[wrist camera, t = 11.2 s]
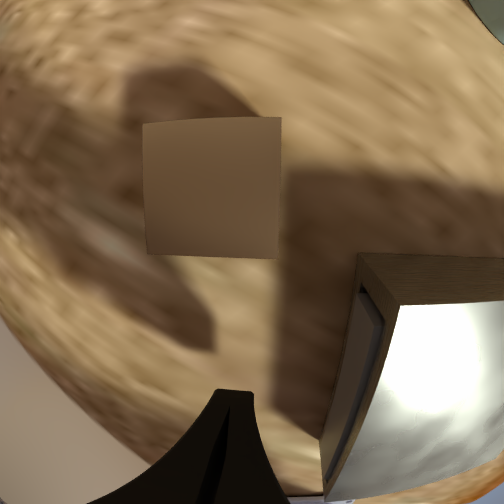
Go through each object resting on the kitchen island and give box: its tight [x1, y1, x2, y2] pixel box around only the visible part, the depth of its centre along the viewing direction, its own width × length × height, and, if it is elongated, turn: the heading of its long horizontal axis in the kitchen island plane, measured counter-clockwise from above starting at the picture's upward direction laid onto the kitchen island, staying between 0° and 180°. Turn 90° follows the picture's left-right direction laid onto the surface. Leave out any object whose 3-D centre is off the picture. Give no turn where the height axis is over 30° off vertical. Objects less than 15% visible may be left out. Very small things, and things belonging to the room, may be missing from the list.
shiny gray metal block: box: [319, 253, 504, 502], centre depth 10 cm, size 11×11×4 cm
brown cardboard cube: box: [142, 117, 281, 259], centre depth 8 cm, size 3×3×4 cm
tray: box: [320, 293, 385, 480], centre depth 10 cm, size 9×10×2 cm
